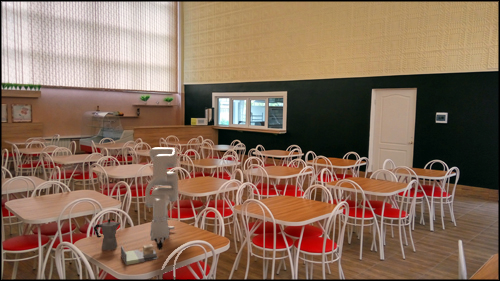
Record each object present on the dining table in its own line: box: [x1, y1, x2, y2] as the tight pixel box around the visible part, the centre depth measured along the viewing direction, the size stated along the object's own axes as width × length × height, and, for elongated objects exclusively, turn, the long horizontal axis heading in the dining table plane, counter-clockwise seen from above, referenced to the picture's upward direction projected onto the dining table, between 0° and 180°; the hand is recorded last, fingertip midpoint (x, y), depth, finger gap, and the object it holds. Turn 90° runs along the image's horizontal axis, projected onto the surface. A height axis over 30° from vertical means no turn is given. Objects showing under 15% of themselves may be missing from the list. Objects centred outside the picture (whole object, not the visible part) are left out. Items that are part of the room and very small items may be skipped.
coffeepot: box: [93, 218, 121, 251], centre depth 226 cm, size 15×9×18 cm, turn 119°
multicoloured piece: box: [120, 245, 159, 266], centre depth 214 cm, size 18×14×6 cm
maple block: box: [142, 243, 154, 254], centre depth 216 cm, size 5×4×4 cm
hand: (159, 248), depth 219 cm, fingers closed
